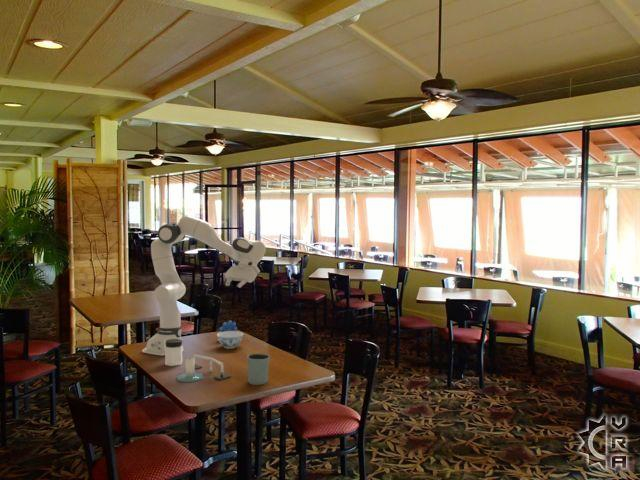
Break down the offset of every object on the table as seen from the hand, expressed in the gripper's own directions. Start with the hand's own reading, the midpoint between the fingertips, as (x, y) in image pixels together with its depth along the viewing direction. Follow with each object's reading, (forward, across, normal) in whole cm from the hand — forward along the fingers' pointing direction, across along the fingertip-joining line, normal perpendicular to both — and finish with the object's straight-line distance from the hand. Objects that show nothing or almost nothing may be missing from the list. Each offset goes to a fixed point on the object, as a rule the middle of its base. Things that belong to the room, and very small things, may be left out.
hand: (232, 286), depth 265 cm
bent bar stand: (+44, +9, +12) cm, 46 cm away
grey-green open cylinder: (+39, +36, +17) cm, 56 cm away
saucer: (+51, +9, +4) cm, 52 cm away
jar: (+46, -17, +10) cm, 50 cm away
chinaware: (+17, -20, +39) cm, 47 cm away
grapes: (+10, -35, +46) cm, 59 cm away
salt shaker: (+51, +8, +4) cm, 52 cm away
